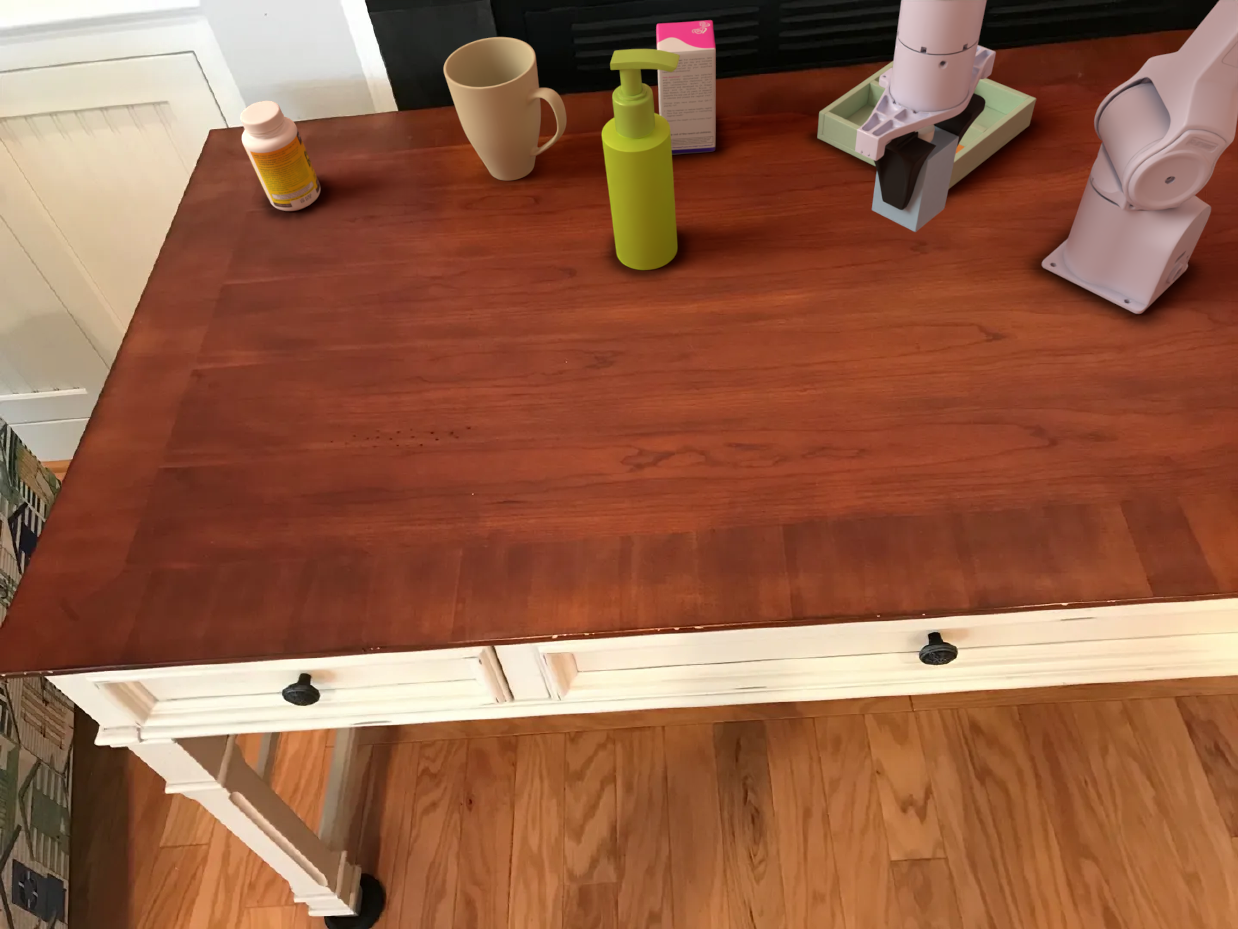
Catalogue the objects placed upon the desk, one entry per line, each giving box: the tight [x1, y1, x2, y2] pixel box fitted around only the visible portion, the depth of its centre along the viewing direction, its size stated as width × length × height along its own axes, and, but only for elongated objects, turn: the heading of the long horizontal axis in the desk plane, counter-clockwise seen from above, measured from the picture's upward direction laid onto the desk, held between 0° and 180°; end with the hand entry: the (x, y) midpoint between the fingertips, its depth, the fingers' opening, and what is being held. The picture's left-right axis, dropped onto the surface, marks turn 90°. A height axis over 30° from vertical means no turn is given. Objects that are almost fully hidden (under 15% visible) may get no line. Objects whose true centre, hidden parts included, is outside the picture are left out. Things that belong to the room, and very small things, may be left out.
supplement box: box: [655, 19, 717, 156], centre depth 100 cm, size 6×6×12 cm
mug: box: [443, 36, 567, 182], centre depth 99 cm, size 11×10×12 cm
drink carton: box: [871, 124, 959, 233], centre depth 80 cm, size 4×4×8 cm
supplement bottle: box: [240, 100, 322, 212], centre depth 101 cm, size 6×6×10 cm
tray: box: [816, 60, 1037, 190], centre depth 100 cm, size 15×15×3 cm
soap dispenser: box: [601, 48, 680, 271], centre depth 86 cm, size 6×7×20 cm
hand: (911, 189), depth 81 cm, fingers closed on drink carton, 4 cm apart
